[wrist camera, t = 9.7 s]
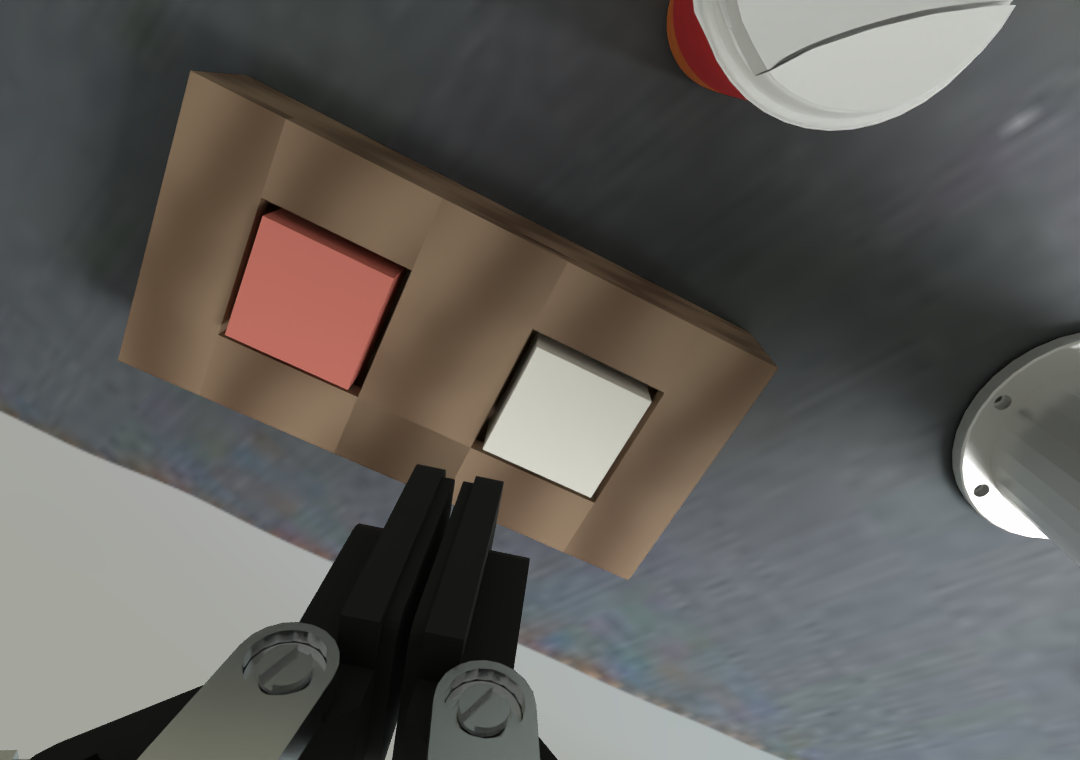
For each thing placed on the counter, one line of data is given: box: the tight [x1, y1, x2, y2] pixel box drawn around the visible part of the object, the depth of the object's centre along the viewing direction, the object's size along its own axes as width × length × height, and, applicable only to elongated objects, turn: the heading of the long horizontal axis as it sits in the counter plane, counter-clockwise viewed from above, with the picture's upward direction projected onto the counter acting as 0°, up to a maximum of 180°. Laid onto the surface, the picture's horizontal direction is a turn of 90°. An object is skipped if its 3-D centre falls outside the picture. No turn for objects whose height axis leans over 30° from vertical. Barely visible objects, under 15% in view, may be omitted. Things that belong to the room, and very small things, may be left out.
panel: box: [118, 71, 778, 580], centre depth 33 cm, size 28×14×5 cm, turn 63°
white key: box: [483, 331, 652, 498], centre depth 32 cm, size 6×6×3 cm
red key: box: [225, 208, 407, 390], centre depth 30 cm, size 6×6×3 cm
